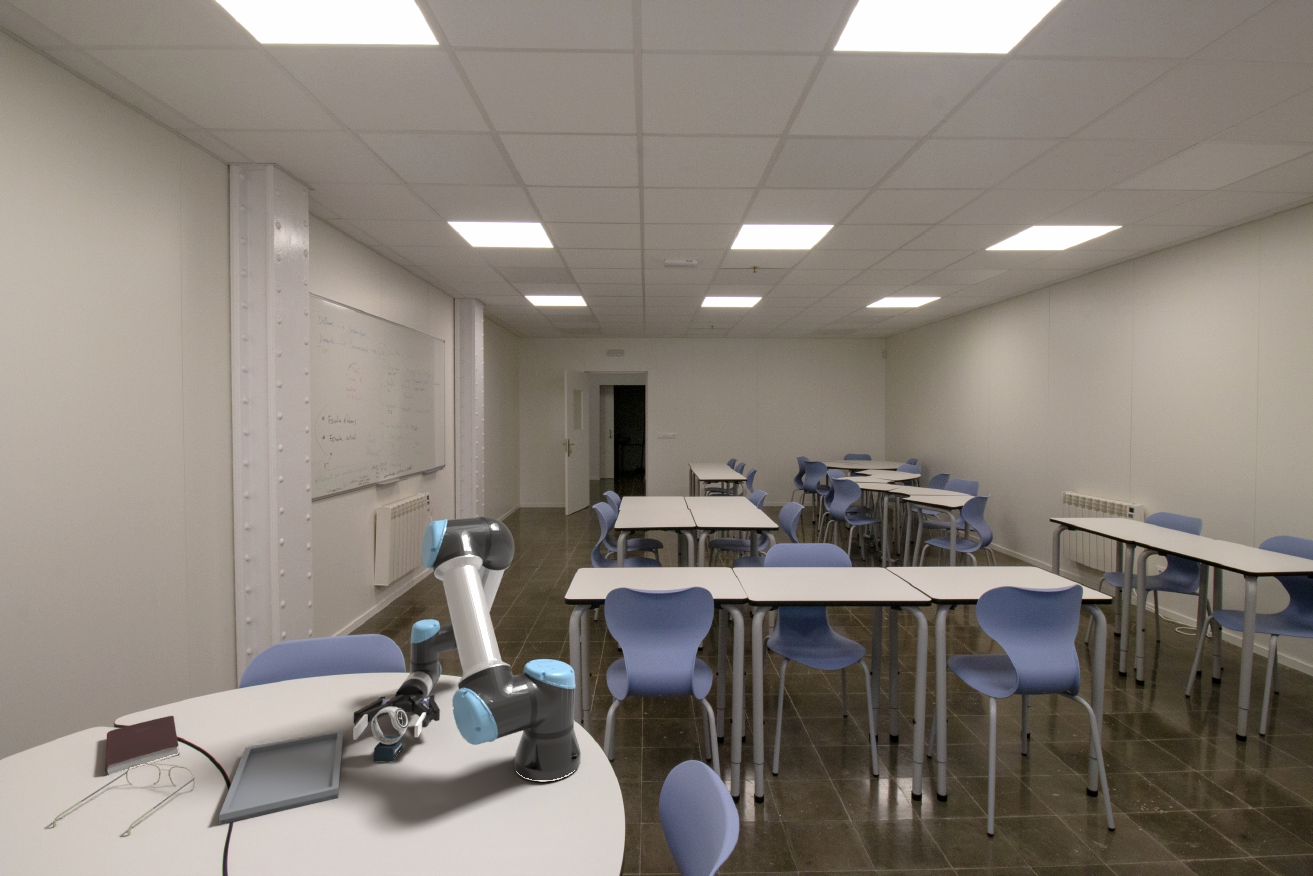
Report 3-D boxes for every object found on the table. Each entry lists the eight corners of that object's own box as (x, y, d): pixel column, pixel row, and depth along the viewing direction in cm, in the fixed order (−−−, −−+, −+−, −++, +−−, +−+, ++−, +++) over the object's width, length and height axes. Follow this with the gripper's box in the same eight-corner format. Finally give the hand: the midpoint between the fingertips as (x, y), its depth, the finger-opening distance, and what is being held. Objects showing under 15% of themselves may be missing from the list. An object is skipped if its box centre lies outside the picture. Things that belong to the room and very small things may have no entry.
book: (104, 779, 124) (104, 764, 124) (106, 742, 138) (106, 729, 138) (179, 758, 132) (179, 744, 132) (174, 726, 147) (174, 713, 147)
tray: (338, 797, 119) (338, 788, 119) (219, 825, 110) (219, 814, 110) (342, 737, 142) (343, 729, 142) (245, 756, 133) (245, 747, 133)
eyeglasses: (200, 789, 121) (200, 766, 121) (128, 838, 106) (129, 811, 106) (132, 783, 123) (132, 760, 123) (52, 830, 108) (52, 804, 108)
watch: (401, 762, 132) (402, 714, 132) (366, 761, 132) (367, 714, 132) (410, 748, 138) (412, 703, 138) (377, 748, 137) (378, 703, 137)
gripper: (461, 704, 155) (440, 746, 134) (364, 707, 152) (328, 751, 131) (461, 677, 155) (441, 714, 134) (365, 679, 152) (329, 718, 131)
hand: (385, 732), depth 132 cm, fingers open, 13 cm apart
